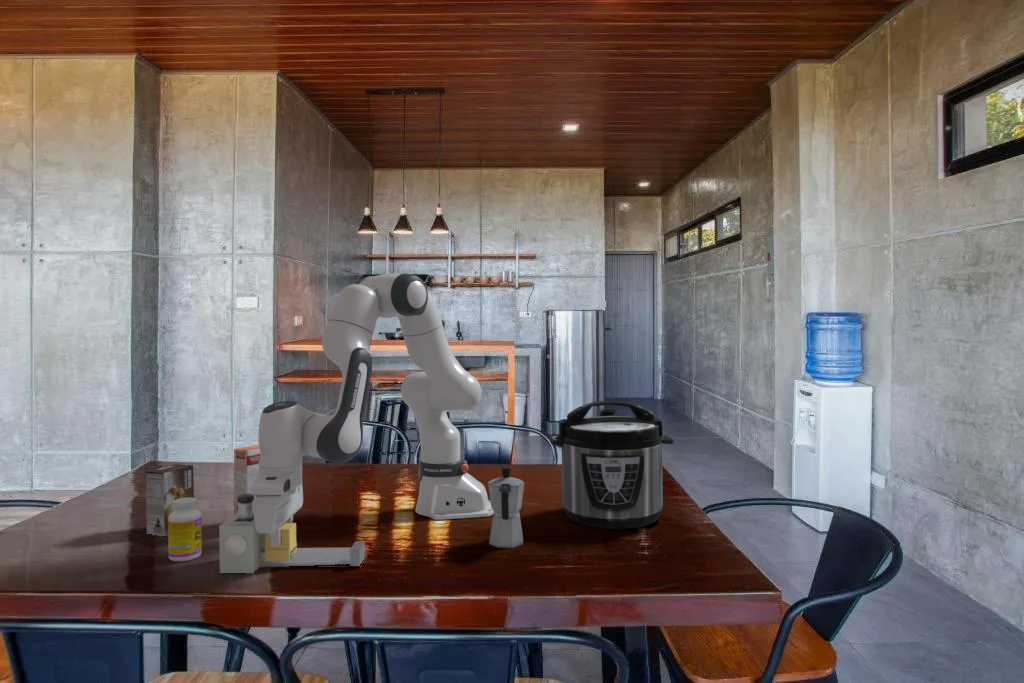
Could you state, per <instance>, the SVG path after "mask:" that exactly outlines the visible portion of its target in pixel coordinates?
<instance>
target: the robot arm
mask: <svg viewBox="0 0 1024 683" xmlns="http://www.w3.org/2000/svg"><path fill="white" fill-rule="evenodd" d="M439 312H440V311H439V310H438V307H437V305H436V303H435V300H434V298H433V297H432V294H431V293H430V291H428V289H427V286H426V284H425V281H423V280H422V278H421V277H419V276H418V275H415V274H413V273H407V272H406V273H384V274H379V275H374V276H373V275H368V276H365V277H363V278H360V279H357V281H356V282H355V283H353V284H349V285H347V286H345V287H344V288H343V289H342V290H341V292H340V293H339V295H338V296H337V298H336V301H335V302H334V305H333V306H332V309H331V311H330V313H329V316H328V318H327V322H326V325H325V328H324V330H323V334H322V338H321V339H322V341H321V348H322V350H323V352H324V355H326V357H327V358H328V359H329V360H330V361H331V362H332V363H333V364H335V365H336V366H338V368H339V369H340V372H341V376H342V380H341V386H340V390H339V395H338V399H337V406H336V410H335V411H334V413H333V414H332V415H328V414H324V413H318V412H315V411H311V410H309V409H307V408H305V407H303V406H302V405H300V404H299V403H298V402H297V401H294V400H293V401H292V400H285V401H278V402H274V403H271V404H268V405H267V406H266V407H264V408H263V410H262V412H261V414H260V418H259V422H258V423H259V424H258V445H259V448H260V452H261V457H260V461H259V472H258V475H257V478H256V480H255V481H254V483H253V484H252V487H251V494H252V495H256V496H255V498H254V524H255V529H256V531H257V533H269V535H270V538H271V546H273V547H278V546H279V545H280V544H281V543H282V536H280V530H281V525H282V524H284V523H293V521H294V515H295V514H296V513H297V512H298V511H299V510H301V508H303V503H304V493H303V492H304V491H303V490H304V489H303V457H305V456H310V457H311V458H318V459H322V460H324V461H328V462H330V463H333V464H335V465H337V464H338V465H342V464H345V463H348V462H350V461H351V460H353V459H354V457H356V455H357V454H358V453H359V451H360V450H361V447H362V444H363V440H364V417H365V409H366V404H367V399H368V393H369V389H370V384H371V378H372V369H373V361H372V360H373V358H372V356H371V353H370V352H371V350H370V349H371V343H372V338H373V335H374V332H375V329H376V325H377V321H378V319H379V318H384V319H385V318H388V319H389V318H395V317H396V318H398V320H399V325H400V329H401V333H402V336H403V339H404V343H405V347H406V350H407V353H408V355H409V359H410V361H411V362H412V363H413V364H414V365H415V366H417V367H419V368H420V369H421V370H422V371H419V372H414V373H410V374H408V375H407V376H406V377H404V379H403V381H402V383H401V386H400V395H401V398H402V401H403V403H404V404H405V405H407V407H408V408H409V410H410V411H411V412H412V413H413V416H414V418H415V420H416V423H417V427H418V431H419V437H420V461H419V464H418V478H419V481H420V482H419V489H418V490H419V492H418V497H417V502H416V507H415V513H416V514H418V515H421V516H424V517H429V518H431V519H432V520H437V521H438V520H439V521H440V520H441V521H442V520H453V519H469V518H481V517H482V518H483V517H485V518H486V517H490V516H493V509H492V508H491V501H490V500H489V498H488V492H487V490H486V487H485V485H484V484H483V483H481V482H480V481H479V480H477V479H476V478H475V477H473V475H471V474H470V473H468V471H469V464H468V462H467V460H464V459H461V433H460V431H459V429H458V428H457V427H456V426H455V425H454V424H453V423H452V422H451V420H450V419H449V417H448V416H449V415H448V413H456V414H457V413H458V414H460V413H465V412H470V411H474V410H475V409H476V408H477V407H478V405H479V404H480V401H481V399H482V387H481V383H480V382H479V380H478V379H477V378H476V377H475V376H473V375H471V374H470V373H469V372H468V371H466V369H464V367H463V365H461V364H460V363H459V362H460V361H458V359H457V358H456V357H455V355H454V353H453V352H452V350H451V346H450V345H449V342H448V339H447V335H446V332H445V329H444V325H443V322H442V319H441V315H440V313H439Z"/></svg>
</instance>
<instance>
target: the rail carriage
mask: <svg viewBox="0 0 1024 683" xmlns="http://www.w3.org/2000/svg"><path fill="white" fill-rule="evenodd" d="M280 536H282V543H281V544H280V545H279V546H278V547H273V546H271V538H270V535H269V533H266V550H265V561H290V552H291V551H292V550H293V548H298V547H297V546H298V543H297V542H298V541H297V523H296V522H292V523H284V524H282V525H281V530H280Z"/></svg>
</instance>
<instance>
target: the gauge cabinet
mask: <svg viewBox="0 0 1024 683" xmlns="http://www.w3.org/2000/svg"><path fill="white" fill-rule="evenodd" d="M218 533H219V534H218V535H219V574H220V573H246V574H255V573H256V572H257V571H258V570H259V569H260V568H261V567H260V553H261V552H262V551H263V550H264V549H265V548H266V533H257V531H256V529H255V524H254V512H253V520H252V521H238V513H237V514H236V515H234V514H233V516H232V517H230V518H228V519H227V520H226V521H225V522H223V523H221V524H220V525H219V532H218ZM259 567H260V568H259ZM258 568H259V569H258ZM257 569H258V570H257ZM256 570H257V571H256ZM255 571H256V572H255ZM254 572H255V573H254Z"/></svg>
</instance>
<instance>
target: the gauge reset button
mask: <svg viewBox="0 0 1024 683" xmlns="http://www.w3.org/2000/svg"><path fill="white" fill-rule="evenodd" d="M253 500H254V495H252V494H242V495H238V496H237V502H238V521H252V520H253Z"/></svg>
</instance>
